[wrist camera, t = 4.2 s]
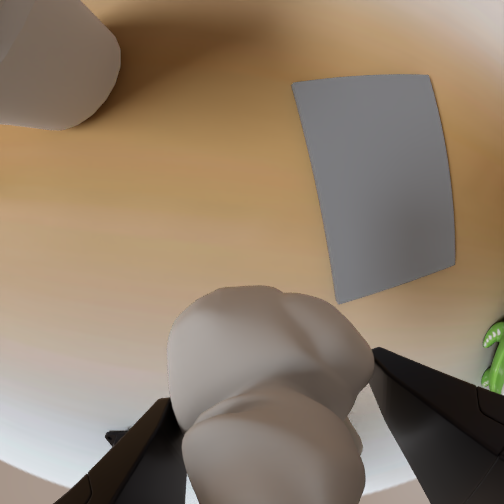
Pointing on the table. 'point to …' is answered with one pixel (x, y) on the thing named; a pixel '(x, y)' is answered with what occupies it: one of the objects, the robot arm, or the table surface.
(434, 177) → the grey mat
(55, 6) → the can
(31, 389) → the table surface
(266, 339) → the off-white lumpy chunk
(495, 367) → the turtle holder
